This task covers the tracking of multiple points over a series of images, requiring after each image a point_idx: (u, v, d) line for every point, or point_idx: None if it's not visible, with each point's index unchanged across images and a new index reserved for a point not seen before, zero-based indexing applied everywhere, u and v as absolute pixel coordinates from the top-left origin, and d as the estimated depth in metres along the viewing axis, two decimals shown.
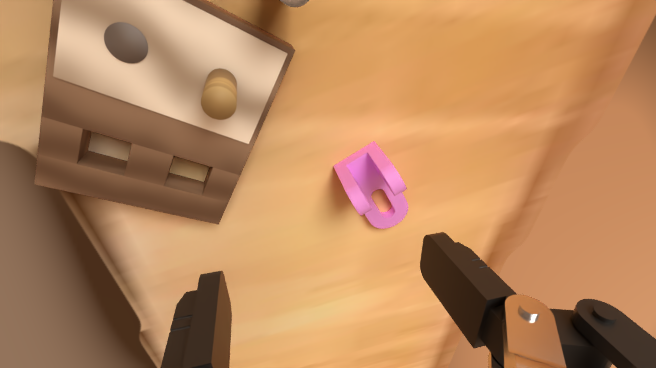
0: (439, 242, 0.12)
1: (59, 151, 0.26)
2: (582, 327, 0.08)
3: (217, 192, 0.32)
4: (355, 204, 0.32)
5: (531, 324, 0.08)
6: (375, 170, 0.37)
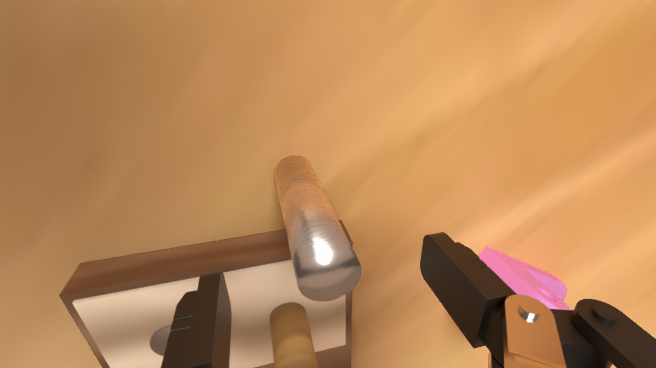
0: (439, 242, 0.12)
1: None
2: (582, 327, 0.08)
3: None
4: None
5: (531, 324, 0.08)
6: None
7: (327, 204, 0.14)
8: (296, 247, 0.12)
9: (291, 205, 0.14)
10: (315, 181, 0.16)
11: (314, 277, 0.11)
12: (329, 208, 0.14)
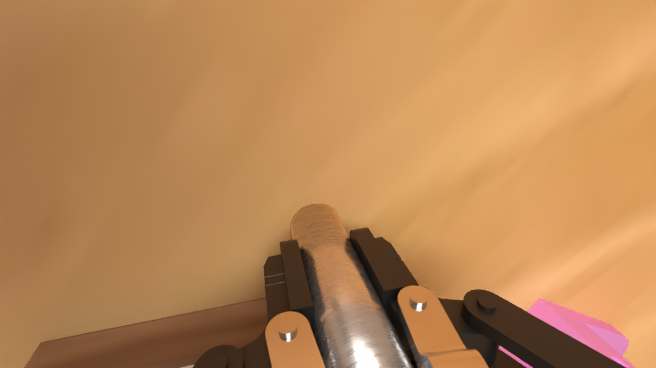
0: (359, 237, 0.12)
1: None
2: (475, 324, 0.09)
3: None
4: None
5: (415, 313, 0.09)
6: None
7: (372, 292, 0.10)
8: None
9: (320, 293, 0.10)
10: (349, 247, 0.12)
11: None
12: (376, 301, 0.10)
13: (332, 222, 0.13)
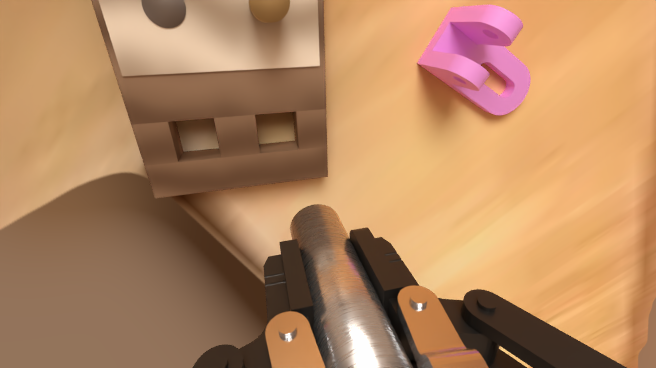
0: (359, 237, 0.12)
1: (159, 155, 0.26)
2: (475, 324, 0.09)
3: (312, 139, 0.29)
4: (466, 75, 0.25)
5: (415, 312, 0.09)
6: (468, 41, 0.30)
7: (372, 293, 0.10)
8: None
9: (320, 294, 0.10)
10: (349, 248, 0.12)
11: None
12: (376, 302, 0.10)
13: (332, 223, 0.13)
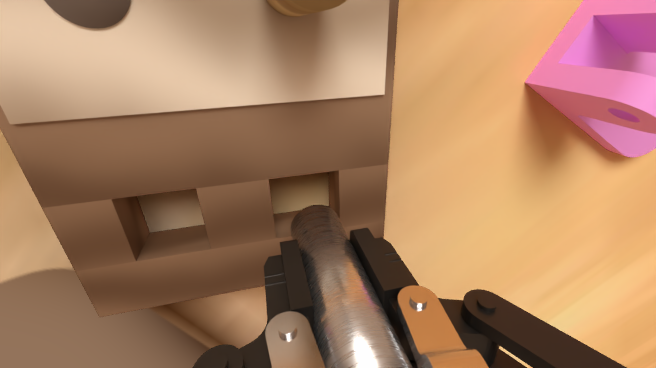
0: (359, 237, 0.12)
1: (101, 253, 0.15)
2: (475, 324, 0.09)
3: (361, 211, 0.17)
4: None
5: (415, 313, 0.09)
6: (615, 46, 0.18)
7: (372, 294, 0.10)
8: None
9: (320, 294, 0.10)
10: (349, 249, 0.12)
11: None
12: (376, 302, 0.10)
13: (332, 223, 0.13)
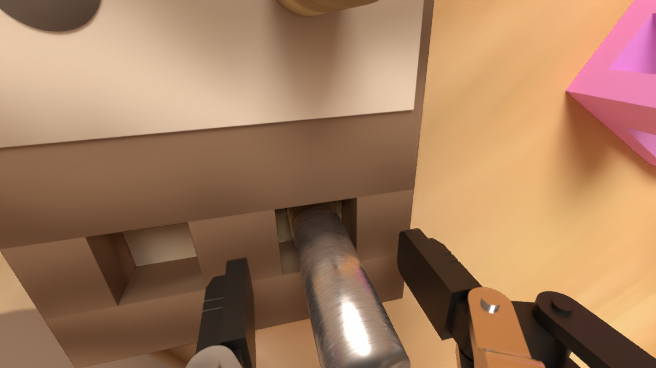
0: (412, 238, 0.12)
1: (75, 298, 0.13)
2: (544, 321, 0.09)
3: (381, 242, 0.15)
4: None
5: (490, 315, 0.09)
6: None
7: (357, 262, 0.11)
8: (323, 332, 0.09)
9: (312, 262, 0.11)
10: (339, 226, 0.13)
11: None
12: (360, 268, 0.11)
13: (325, 205, 0.14)
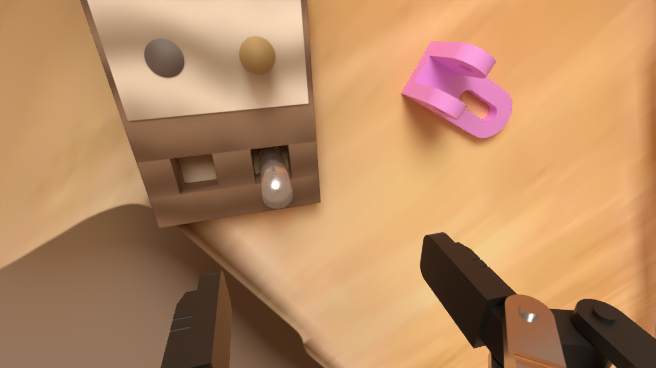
0: (439, 242, 0.12)
1: (162, 188, 0.29)
2: (582, 327, 0.08)
3: (304, 169, 0.31)
4: (444, 108, 0.27)
5: (531, 324, 0.08)
6: (449, 71, 0.31)
7: (282, 166, 0.27)
8: (263, 182, 0.25)
9: (264, 167, 0.27)
10: (279, 157, 0.29)
11: (270, 194, 0.24)
12: (283, 168, 0.27)
13: (275, 150, 0.30)
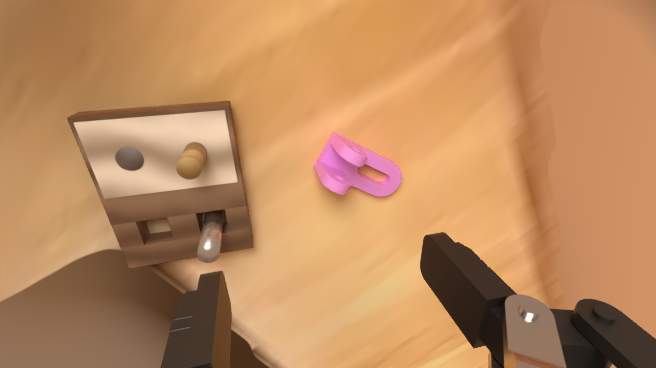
0: (439, 242, 0.12)
1: (131, 241, 0.39)
2: (582, 327, 0.08)
3: (238, 225, 0.42)
4: (331, 188, 0.38)
5: (531, 324, 0.08)
6: None
7: (216, 229, 0.38)
8: (199, 244, 0.36)
9: (203, 229, 0.38)
10: (217, 218, 0.40)
11: (202, 254, 0.35)
12: (216, 230, 0.38)
13: (216, 211, 0.41)
